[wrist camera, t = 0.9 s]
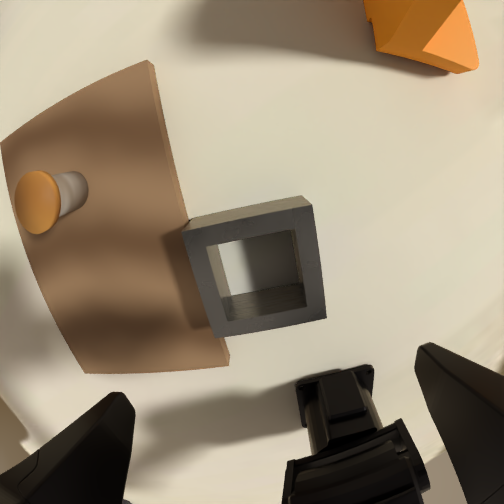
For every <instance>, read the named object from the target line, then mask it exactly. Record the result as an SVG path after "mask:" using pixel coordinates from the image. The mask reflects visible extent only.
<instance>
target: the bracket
mask: <svg viewBox="0 0 504 504" xmlns="http://www.w3.org/2000/svg"><path fill="white" fill-rule="evenodd" d="M363 2H364V7H365V13H366V18H367V21H368V22H372V24H373V30H374V37H375V44H376V51H379V52H384V53H388V54H393V55H397V56H401V57H405V58H408V59H412V60H416V61H419V62H423V63H426V64H429V65H432V66H435V67H438V68H441V69H444V70H447V71H450V72H452V73H455V74H460V73H463V72H467V71H471V70H475V69H477V68H478V66H479V59H478V54H477V49H476V45H475V40H474V36H473V32H472V29H471V25H470V21H469V18H468V15H467V11H466V8H465V5H464V2H463V0H363Z"/></svg>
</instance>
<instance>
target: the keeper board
mask: <svg viewBox="0 0 504 504" xmlns="http://www.w3.org/2000/svg"><path fill="white" fill-rule="evenodd" d="M0 146H1V153H2V160H3V166H4V172H5V177H6V182H7V187H8V191H9V196H10V200H11V204H12V208H13V212H14V216H15V219H16V223H17V226H18V230H19V233H20V236H21V239H22V242H23V245H24V248H25V251H26V254H27V257H28V260H29V262H30V265H31V268H32V270H33V273H34V275H35V278H36V280H37V283H38V285H39V288H40V290H41V292H42V294H43V297H44V299H45V301H46V303H47V305H48V308H49V310H50V312H51V314H52V316H53V318H54V320H55V322H56V324H57V326H58V328H59V330H60V332H61V333H62V335H63V337H64V339H65V341H66V343H67V344H68V346H69V348H70V350H71V351H72V353H73V355H74V356H75V358H76V360H77V361H78V363H79V365H80V366H81V368H82V369H83V371H84V373H89V374H127V373H155V372H171V371H184V370H196V369H206V368H215V367H223V366H229V359H230V354H229V351H228V348H227V345H226V342H225V339H224V337H222V338H215V337H214V334H213V331H212V329H211V326H210V323H209V320H208V317H207V314H206V311H205V308H204V305H203V302H202V299H201V296H200V293H199V289H198V286H197V283H196V280H195V277H194V274H193V270H192V267H191V264H190V260H189V257H188V254H187V250H186V247H185V244H184V240H183V237H182V233H181V231H182V230H183V229H184V228H185V227H186V226H187V225H188V223H189V219H188V216H187V212H186V208H185V204H184V200H183V197H182V193H181V189H180V185H179V181H178V177H177V172H176V168H175V164H174V160H173V156H172V151H171V147H170V143H169V138H168V134H167V129H166V125H165V120H164V115H163V110H162V105H161V101H160V95H159V90H158V85H157V80H156V75H155V69H154V65H153V64H152V63H150V62H149V61H148V60H145V61H142V62H140V63H137V64H135V65H132V66H130V67H127V68H125V69H123V70H120V71H118V72H116V73H114V74H111V75H109V76H107V77H105V78H103V79H101V80H99V81H97V82H94V83H92V84H90V85H89V86H87V87H85V88H83V89H81V90H79V91H77V92H75V93H73V94H72V95H70V96H68V97H66V98H65V99H63V100H61V101H60V102H58V103H56V104H55V105H53V106H51V107H50V108H48V109H46V110H45V111H43V112H42V113H40V114H39V115H37V116H36V117H34V118H33V119H31V120H30V121H28V122H27V123H26V124H24V125H23V126H21V127H20V128H19V129H17V130H16V131H15V132H13V133H12V134H11V135H9V136H8V137H7V138H5V139H4V140H3V141H2V142H0Z"/></svg>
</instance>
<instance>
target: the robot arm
mask: <svg viewBox="0 0 504 504" xmlns="http://www.w3.org/2000/svg"><path fill="white" fill-rule="evenodd" d="M414 369H415V374H416V376H417V379H418V382H419V384H420V387H421V390H422V393H423V395H424V398H425V401H426V404H427V407H428V410H429V412H430V414H431V417H432V419H433V421H434V423H435V425H436V427H437V430H438V432H439V434H440V436H441V438H442V441H443V443H444V445H445V447H446V450H447V452H448V454H449V457H450V459H451V462H452V464H453V466H454V469H455V471H456V474H457V476H458V479H459V482H460V484H461V487H462V490H463V492H464V495H465V498H466V501H467V503H468V504H504V376H503V375H501V374H499V373H496V372H494V371H492V370H490V369H488V368H486V367H483V366H481V365H479V364H477V363H475V362H473V361H471V360H468V359H466V358H464V357H462V356H460V355H458V354H456V353H453V352H451V351H449V350H447V349H445V348H443V347H441V346H438V345H436V344H434V343H432V342H429V343H426V344H423V345H420V346H419V347H418V350H417V355H416V360H415V366H414ZM368 370H369V371H368ZM373 380H374V368H373V366H372V365H366V366H362V367H358V368H355V369H351V370H347V371H343V372H339V373H335V374H331V375H326V376H322V377H317V378H313V379H308V380H303V381H299V382H297V383H296V384H295V387H296V393H297V399H298V404H299V410H300V416H301V422H302V426H303V427H304V428H307V429H308V435H309V441H310V447H311V453H312V455H311V456H308V457H304V458H301V459H297V460H295V459H293V460H289V461H287V468H286V471H285V480H284V488H283V496H282V504H424V502H423V499H422V495H421V494H422V493H424V492H426V491H428V490H430V482H429V478H428V475H427V471H426V469H425V466H424V463H423V461H422V458H421V456H420V454H419V452H418V450H417V448H416V446H415V444H414V442H413V440H412V438H411V436H410V434H409V432H408V430H407V428H406V426H405V424H404V422H403V420H402V419H401V418H400V419H398V420H396V421H394V422H395V423H393V424H390V425H388V426H386V427H384V428H383V425H382V423H381V420H380V418H379V415H378V413H377V410H376V408H375V405H374V403H373V400H372V390H373ZM301 386H303V387H301ZM135 416H136V414H135V409H134V407H133V406H132V404H131V403H130V401H129V400H128V398H127V397H126V395H125V394H124V393H122V392H111V393H109V394H108V395H107V396H106V397H104V398H103V399H102V400H101V401H99V402H98V403H97V404H96V405H94V406H93V407H92V408H91V409H89V410H88V411H87V412H86V413H84V414H83V415H82V416H81V417H79V418H78V419H77V420H75V421H74V422H73V423H72V424H70V425H69V426H68V427H67V428H65V429H64V430H63V431H61V432H60V433H59V434H58V435H56V436H55V437H54V438H52V439H51V440H50V441H49V442H47V443H46V444H45V445H43V446H42V447H41V448H40V449H38V450H37V451H36V452H34V453H33V454H32V455H30V456H29V457H27V458H26V459H25V460H23V461H22V462H20V463H19V464H17V465H16V466H14V467H12V468H11V469H9V470H7V471H6V472H4V473H2V474H1V475H0V504H122V502H123V496H124V490H125V484H126V479H127V473H128V468H129V463H130V458H131V452H132V444H133V433H134V424H135ZM400 451H401V452H400Z"/></svg>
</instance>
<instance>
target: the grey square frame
mask: <svg viewBox="0 0 504 504" xmlns="http://www.w3.org/2000/svg"><path fill="white" fill-rule="evenodd" d="M286 230H290V231H291V236H292V242H293V248H294V254H295V260H296V266H297V272H298V278H299V283H296V284H291V285H286V286H281V287H276V288H271V289H266V290H261V291H255V292H250V293H244V294H239V295H233V296H231V294H230V290H229V286H228V283H227V279H226V275H225V272H224V268H223V264H222V260H221V257H220V253H219V249H218V245H217V244H222V243H227V242H232V241H236V240H241V239H246V238H251V237H256V236H261V235H266V234H271V233H276V232H281V231H286ZM181 233H182V237H183V240H184V244H185V247H186V250H187V254H188V257H189V260H190V264H191V267H192V270H193V274H194V277H195V280H196V283H197V286H198V289H199V293H200V296H201V299H202V302H203V305H204V308H205V311H206V314H207V317H208V320H209V323H210V326H211V329H212V331H213V334H214V337H215V338H222V337H228V336H235V335H241V334H248V333H254V332H259V331H265V330H271V329H276V328H281V327H287V326H292V325H297V324H302V323H307V322H311V321H316V320H321V319H325V318H327V316H326V306H325V296H324V287H323V278H322V270H321V262H320V255H319V247H318V240H317V233H316V226H315V220H314V213H313V207H312V204H311V203H310V202H309V201H307V200H306V199H305V198H304V197H303V196H302V195H301V196H296V197H290V198H285V199H280V200H275V201H270V202H265V203H260V204H255V205H250V206H245V207H241V208H236V209H231V210H227V211H222V212H218V213H213V214H209V215H204V216H200V217H196V218H193V219H192V220H191V221H190V222H189V223H188V225H187V226H186V227H185V228H184V229H183V230H182V231H181Z"/></svg>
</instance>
